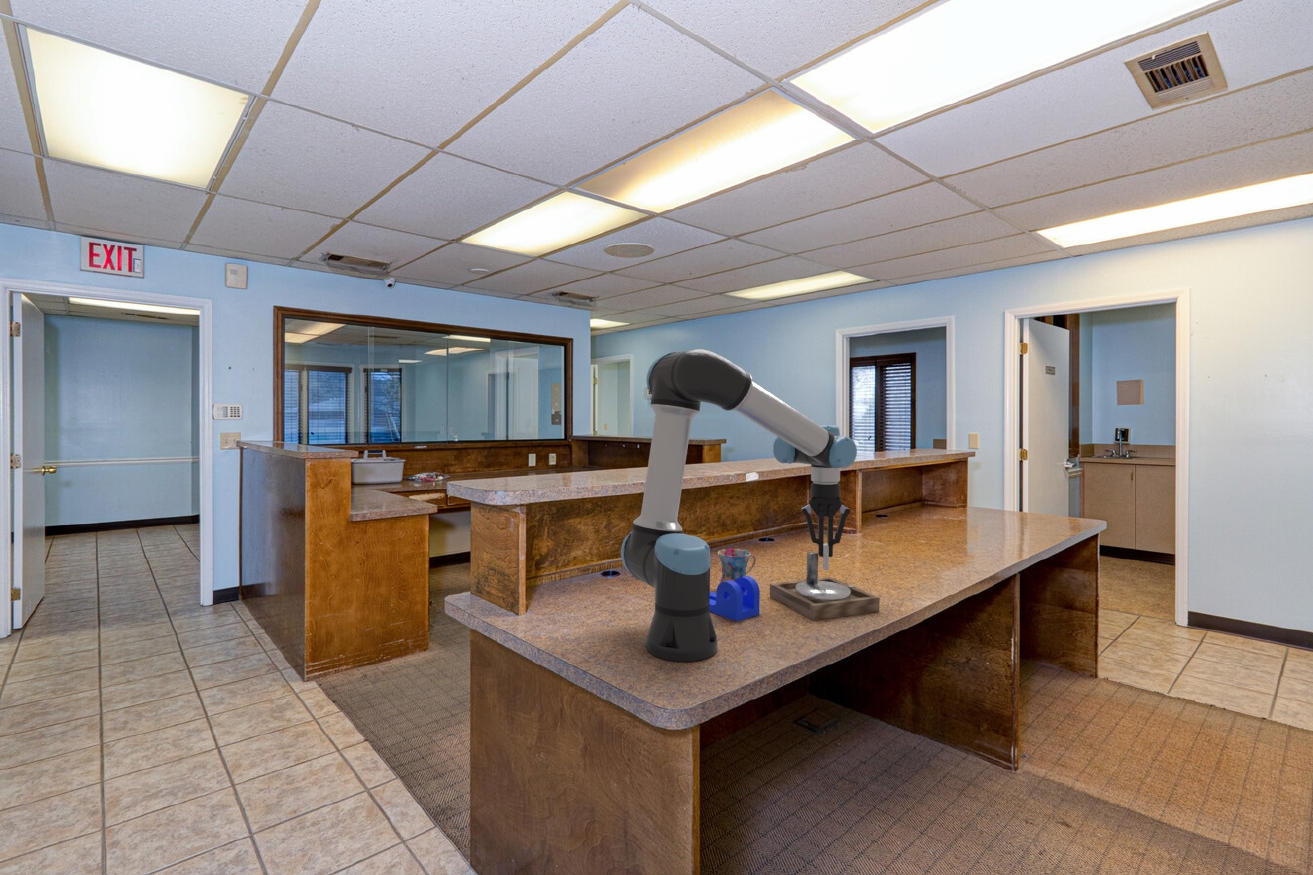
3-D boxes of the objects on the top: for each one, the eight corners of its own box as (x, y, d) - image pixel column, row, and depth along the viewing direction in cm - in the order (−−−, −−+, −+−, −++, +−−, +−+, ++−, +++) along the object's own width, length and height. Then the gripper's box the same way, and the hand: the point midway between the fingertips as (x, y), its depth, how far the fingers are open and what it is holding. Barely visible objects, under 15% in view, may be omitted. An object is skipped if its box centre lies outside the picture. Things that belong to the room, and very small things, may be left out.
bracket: (759, 614, 152) (759, 579, 151) (736, 622, 146) (737, 585, 146) (708, 597, 165) (708, 564, 165) (685, 603, 160) (686, 569, 160)
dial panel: (813, 620, 148) (813, 605, 147) (769, 596, 166) (769, 582, 166) (879, 611, 155) (879, 596, 155) (830, 589, 173) (830, 576, 173)
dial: (861, 601, 156) (862, 563, 155) (813, 606, 152) (813, 566, 151) (831, 586, 169) (832, 550, 169) (786, 589, 165) (786, 553, 165)
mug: (729, 596, 166) (729, 557, 165) (710, 587, 174) (711, 550, 174) (764, 590, 172) (765, 553, 171) (745, 582, 180) (745, 546, 179)
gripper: (848, 480, 167) (848, 565, 168) (799, 480, 169) (800, 564, 170) (852, 484, 159) (852, 573, 160) (802, 484, 161) (802, 571, 162)
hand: (825, 568), depth 165 cm, fingers closed
